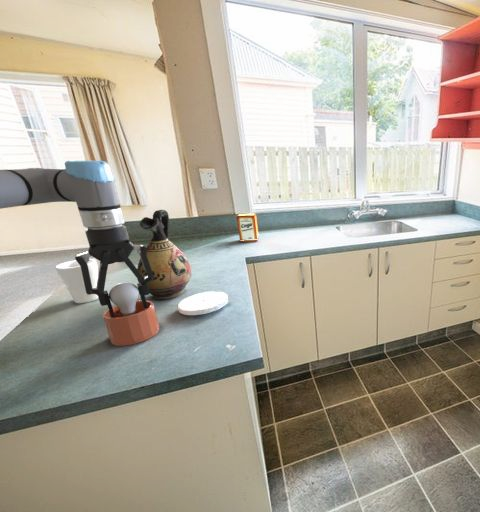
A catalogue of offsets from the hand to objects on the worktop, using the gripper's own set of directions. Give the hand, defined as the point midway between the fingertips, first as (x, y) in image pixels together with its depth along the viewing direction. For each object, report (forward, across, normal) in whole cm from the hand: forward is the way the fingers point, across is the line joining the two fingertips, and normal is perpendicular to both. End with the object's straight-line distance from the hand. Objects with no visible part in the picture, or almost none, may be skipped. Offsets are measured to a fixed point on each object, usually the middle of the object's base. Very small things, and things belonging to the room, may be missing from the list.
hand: (129, 310), depth 79 cm
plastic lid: (+8, +18, +4) cm, 20 cm away
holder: (+8, 0, 0) cm, 8 cm away
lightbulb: (+3, 0, 0) cm, 3 cm away
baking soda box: (+8, +65, +78) cm, 102 cm away
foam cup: (+8, -8, +39) cm, 40 cm away
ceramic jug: (+8, +13, +25) cm, 29 cm away
